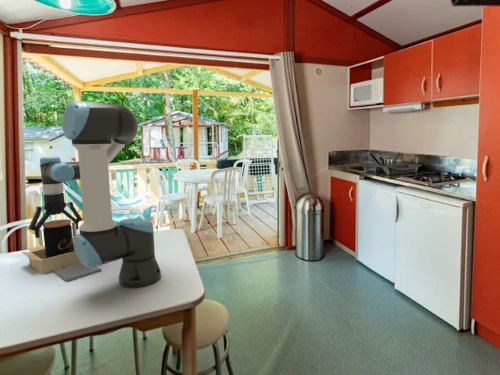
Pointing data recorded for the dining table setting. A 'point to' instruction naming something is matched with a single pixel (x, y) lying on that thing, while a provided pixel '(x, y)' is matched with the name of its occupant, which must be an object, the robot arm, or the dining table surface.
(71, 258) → the carton
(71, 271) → the plate
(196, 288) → the dining table surface
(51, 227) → the coffee jar
